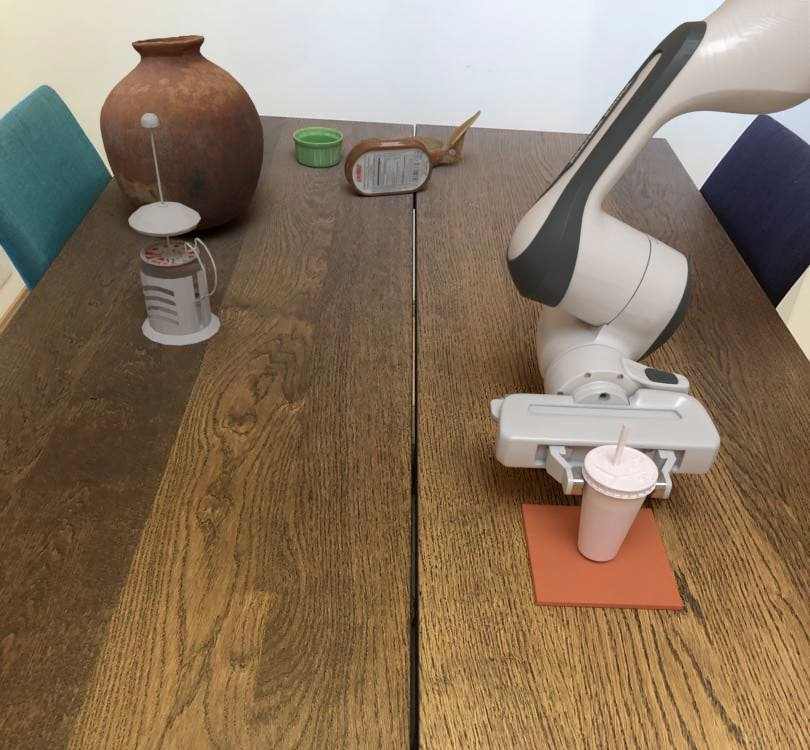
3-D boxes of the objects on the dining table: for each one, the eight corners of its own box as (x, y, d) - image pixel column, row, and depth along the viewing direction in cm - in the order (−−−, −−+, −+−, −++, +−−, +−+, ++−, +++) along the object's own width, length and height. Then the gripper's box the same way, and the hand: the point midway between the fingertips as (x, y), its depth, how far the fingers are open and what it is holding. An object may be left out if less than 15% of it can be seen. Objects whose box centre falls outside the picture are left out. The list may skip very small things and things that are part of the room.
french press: (182, 299, 109) (151, 93, 92) (247, 327, 105) (227, 117, 87) (124, 327, 103) (80, 113, 86) (190, 359, 99) (157, 139, 81)
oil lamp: (472, 178, 146) (478, 117, 139) (355, 165, 148) (355, 105, 141) (477, 161, 152) (483, 103, 146) (365, 149, 154) (366, 91, 148)
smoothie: (559, 522, 79) (589, 400, 69) (626, 525, 79) (665, 404, 69) (566, 569, 74) (600, 446, 64) (637, 574, 74) (681, 451, 64)
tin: (427, 186, 142) (430, 135, 137) (433, 193, 140) (436, 141, 134) (343, 193, 138) (343, 140, 133) (348, 200, 136) (348, 147, 131)
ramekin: (293, 151, 152) (292, 126, 149) (342, 152, 153) (342, 127, 150) (294, 169, 145) (293, 143, 142) (344, 169, 146) (344, 143, 143)
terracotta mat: (649, 513, 82) (651, 508, 82) (681, 610, 73) (683, 605, 72) (521, 508, 82) (522, 503, 81) (536, 605, 72) (537, 601, 72)
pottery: (227, 263, 117) (206, 68, 100) (88, 234, 122) (45, 43, 105) (293, 207, 133) (285, 30, 116) (167, 183, 138) (142, 10, 121)
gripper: (491, 367, 78) (503, 457, 68) (703, 376, 79) (746, 466, 69) (483, 421, 82) (494, 513, 72) (684, 430, 83) (722, 522, 73)
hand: (618, 490), depth 70 cm, fingers closed on smoothie, 6 cm apart
